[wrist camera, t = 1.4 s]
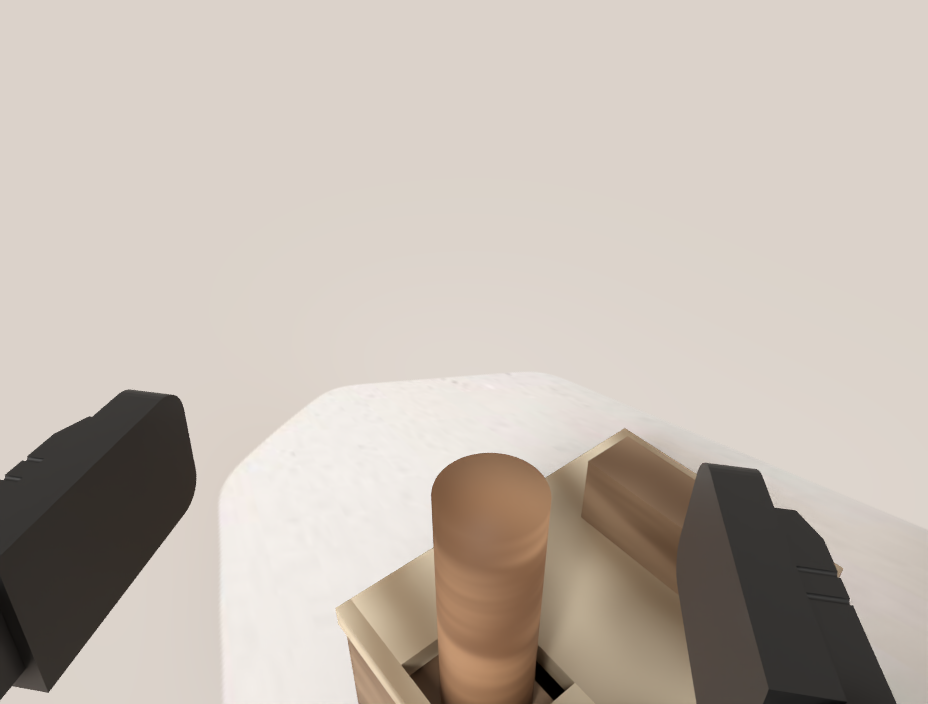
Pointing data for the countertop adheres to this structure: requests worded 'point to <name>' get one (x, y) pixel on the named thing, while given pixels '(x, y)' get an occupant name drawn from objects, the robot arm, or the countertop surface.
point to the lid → (570, 587)
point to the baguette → (489, 577)
